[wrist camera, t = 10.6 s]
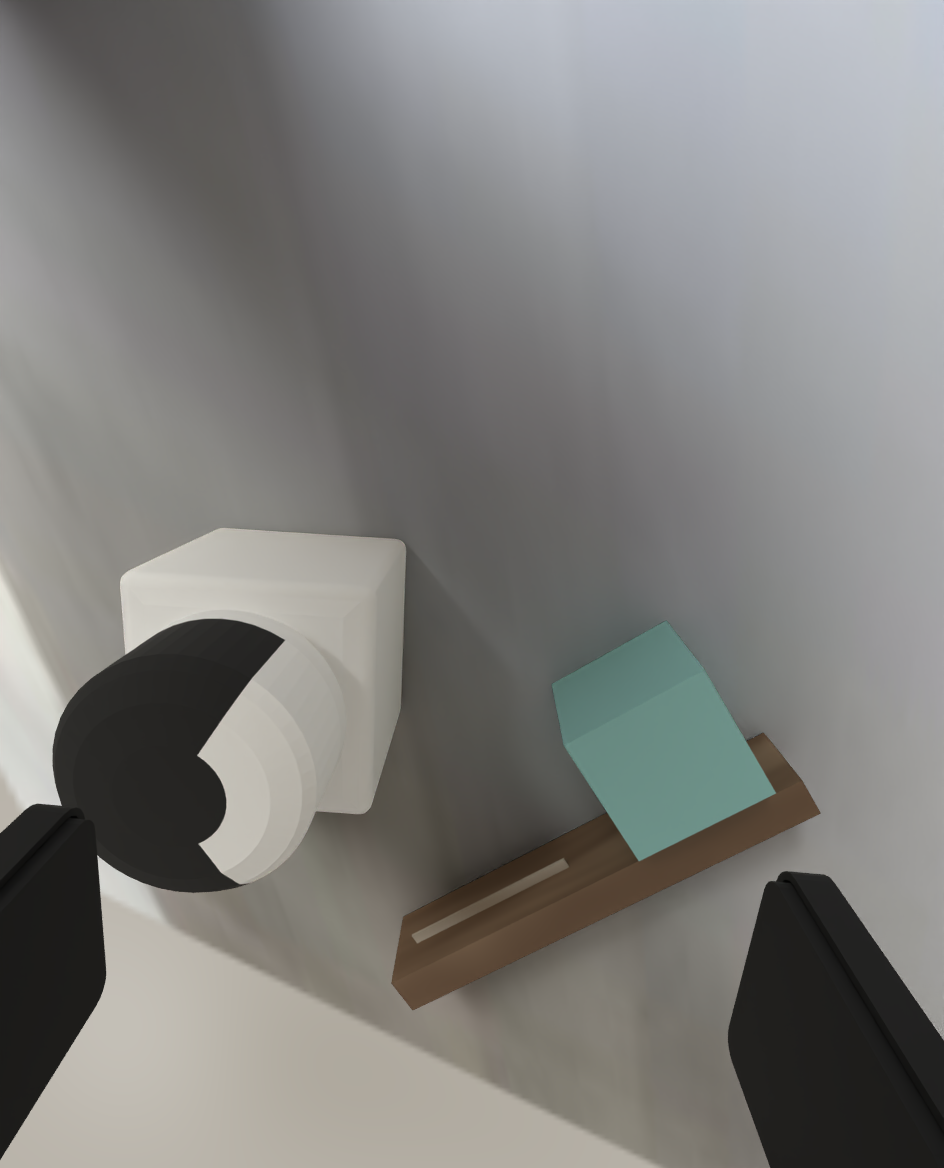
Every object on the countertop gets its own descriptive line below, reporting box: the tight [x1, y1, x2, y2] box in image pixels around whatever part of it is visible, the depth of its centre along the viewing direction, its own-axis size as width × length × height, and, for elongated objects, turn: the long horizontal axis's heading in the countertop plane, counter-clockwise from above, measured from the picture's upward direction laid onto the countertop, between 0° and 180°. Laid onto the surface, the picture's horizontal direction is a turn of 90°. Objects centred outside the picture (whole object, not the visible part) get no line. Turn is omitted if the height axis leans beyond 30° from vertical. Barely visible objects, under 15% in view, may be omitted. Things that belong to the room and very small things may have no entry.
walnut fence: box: [392, 733, 821, 1010], centre depth 27 cm, size 2×17×4 cm, turn 122°
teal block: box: [552, 621, 776, 861], centre depth 25 cm, size 5×5×5 cm
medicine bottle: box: [53, 528, 406, 893], centre depth 21 cm, size 7×7×12 cm
